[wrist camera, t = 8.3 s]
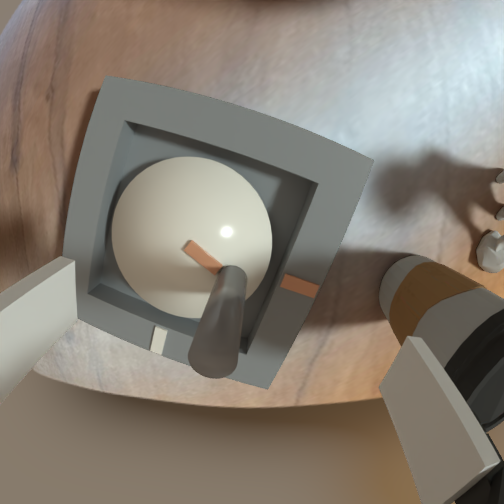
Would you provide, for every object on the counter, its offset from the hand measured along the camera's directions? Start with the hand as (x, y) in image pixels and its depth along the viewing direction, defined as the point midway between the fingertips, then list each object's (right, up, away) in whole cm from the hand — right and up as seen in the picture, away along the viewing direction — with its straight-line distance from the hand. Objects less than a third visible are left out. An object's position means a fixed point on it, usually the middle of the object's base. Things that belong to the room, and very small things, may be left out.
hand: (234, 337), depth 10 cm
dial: (-4, +4, +12) cm, 13 cm away
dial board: (-4, +4, +13) cm, 14 cm away
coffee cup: (+15, 0, +14) cm, 20 cm away
